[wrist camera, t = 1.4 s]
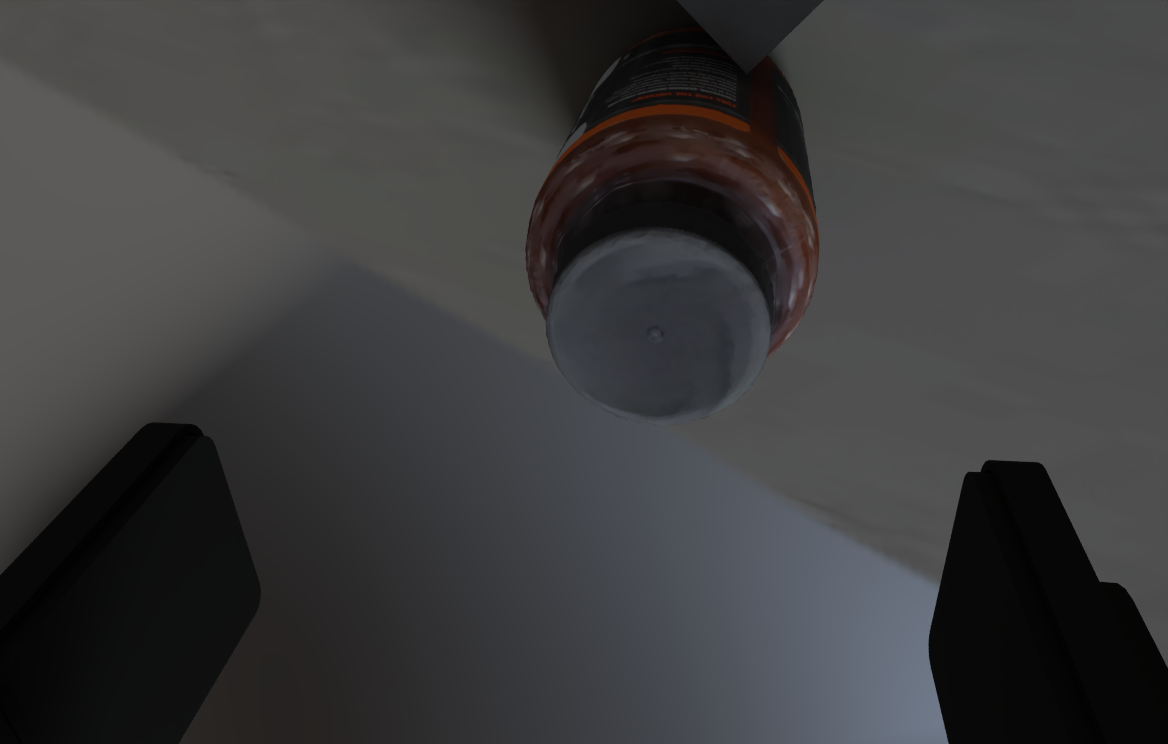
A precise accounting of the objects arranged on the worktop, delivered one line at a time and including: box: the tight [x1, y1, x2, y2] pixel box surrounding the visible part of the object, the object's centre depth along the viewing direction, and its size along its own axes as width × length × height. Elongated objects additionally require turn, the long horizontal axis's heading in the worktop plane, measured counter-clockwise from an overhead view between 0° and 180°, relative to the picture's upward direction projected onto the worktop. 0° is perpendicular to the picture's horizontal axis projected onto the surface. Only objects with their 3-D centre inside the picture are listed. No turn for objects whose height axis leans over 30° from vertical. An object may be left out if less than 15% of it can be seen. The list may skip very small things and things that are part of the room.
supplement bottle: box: [525, 27, 819, 425], centre depth 20 cm, size 6×6×11 cm
